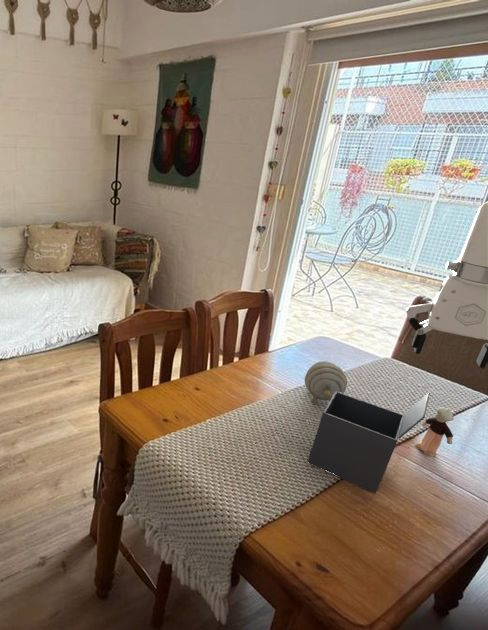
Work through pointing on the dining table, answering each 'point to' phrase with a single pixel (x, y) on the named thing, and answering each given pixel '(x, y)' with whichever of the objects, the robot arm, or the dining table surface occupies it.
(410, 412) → the flap
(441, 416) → the grandmother figurine
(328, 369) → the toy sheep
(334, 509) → the dining table surface
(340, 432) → the carton
